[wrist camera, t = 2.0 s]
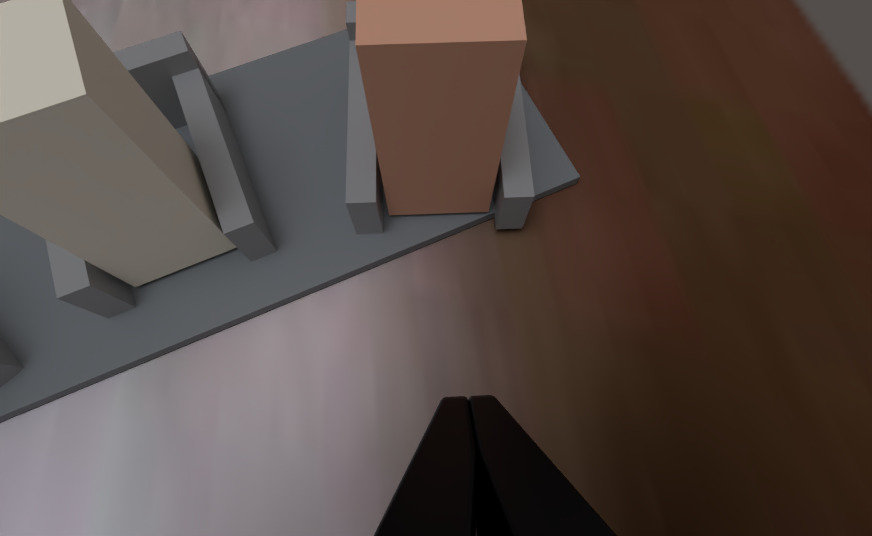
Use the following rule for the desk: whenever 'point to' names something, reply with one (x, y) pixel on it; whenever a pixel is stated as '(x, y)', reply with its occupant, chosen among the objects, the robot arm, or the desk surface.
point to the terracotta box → (439, 97)
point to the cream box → (95, 152)
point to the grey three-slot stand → (243, 214)
